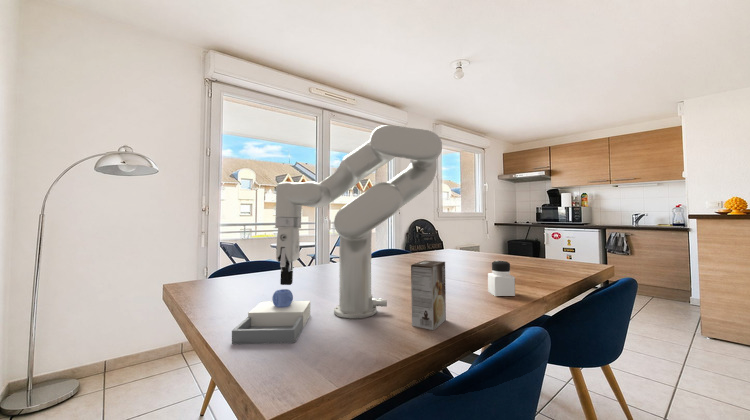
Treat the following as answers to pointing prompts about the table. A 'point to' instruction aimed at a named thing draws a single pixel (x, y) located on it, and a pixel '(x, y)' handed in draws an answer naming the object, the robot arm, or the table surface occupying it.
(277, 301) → the decorative dice
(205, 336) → the table surface
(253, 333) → the box
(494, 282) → the medicine bottle
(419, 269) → the coffee box
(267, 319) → the white box lid
